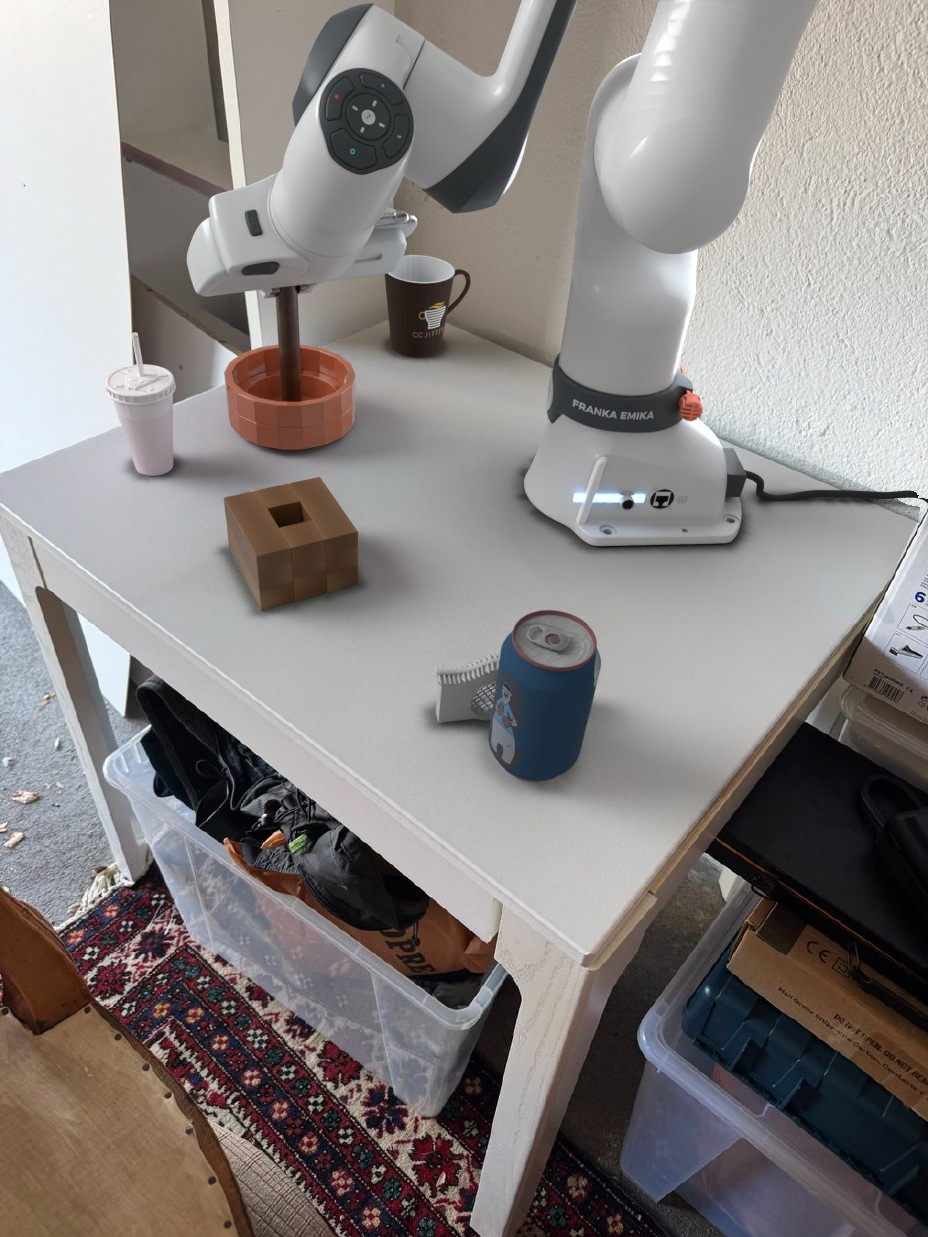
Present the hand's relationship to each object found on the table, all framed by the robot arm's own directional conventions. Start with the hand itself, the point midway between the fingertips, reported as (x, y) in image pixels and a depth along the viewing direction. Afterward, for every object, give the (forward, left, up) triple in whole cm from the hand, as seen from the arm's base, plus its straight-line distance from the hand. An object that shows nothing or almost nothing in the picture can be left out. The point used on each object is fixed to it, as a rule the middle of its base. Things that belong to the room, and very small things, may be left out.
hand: (284, 288), depth 93 cm
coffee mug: (-13, -21, -15) cm, 29 cm away
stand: (-5, +26, -15) cm, 30 cm away
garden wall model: (-25, +41, -15) cm, 50 cm away
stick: (0, 0, -13) cm, 13 cm away
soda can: (-27, +45, -15) cm, 54 cm away
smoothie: (+12, +12, -15) cm, 22 cm away
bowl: (0, +1, -15) cm, 15 cm away
